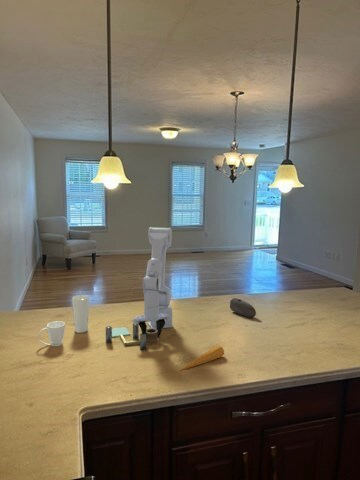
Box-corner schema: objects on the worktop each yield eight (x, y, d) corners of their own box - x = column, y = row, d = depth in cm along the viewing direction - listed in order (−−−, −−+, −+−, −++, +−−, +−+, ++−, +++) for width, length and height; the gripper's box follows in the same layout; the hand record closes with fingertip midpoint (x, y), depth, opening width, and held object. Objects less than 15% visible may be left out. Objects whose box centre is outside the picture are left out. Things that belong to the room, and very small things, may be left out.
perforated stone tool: (258, 318, 172) (259, 304, 171) (251, 320, 169) (252, 306, 168) (235, 309, 184) (236, 296, 183) (228, 311, 181) (229, 298, 180)
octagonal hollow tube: (155, 338, 147) (155, 327, 146) (159, 343, 142) (159, 332, 142) (143, 339, 145) (143, 329, 145) (147, 345, 141) (147, 334, 140)
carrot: (220, 355, 135) (216, 344, 135) (227, 356, 131) (224, 343, 131) (177, 376, 123) (173, 363, 123) (184, 377, 119) (180, 364, 120)
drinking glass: (85, 334, 149) (84, 300, 147) (70, 333, 150) (69, 298, 148) (92, 328, 156) (91, 295, 153) (77, 327, 157) (77, 294, 155)
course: (137, 335, 150) (137, 321, 149) (147, 349, 136) (147, 335, 135) (104, 339, 145) (104, 325, 144) (111, 355, 131) (111, 340, 130)
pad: (125, 328, 157) (125, 327, 157) (130, 335, 150) (130, 333, 150) (107, 330, 154) (107, 329, 154) (110, 337, 147) (110, 336, 147)
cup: (67, 345, 139) (67, 325, 138) (40, 350, 134) (39, 330, 133) (63, 338, 145) (63, 319, 144) (37, 343, 140) (36, 323, 139)
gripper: (136, 310, 135) (136, 344, 137) (172, 306, 141) (171, 339, 143) (131, 305, 142) (131, 337, 144) (166, 301, 147) (165, 332, 149)
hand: (151, 338), depth 144 cm, fingers closed on octagonal hollow tube, 5 cm apart
